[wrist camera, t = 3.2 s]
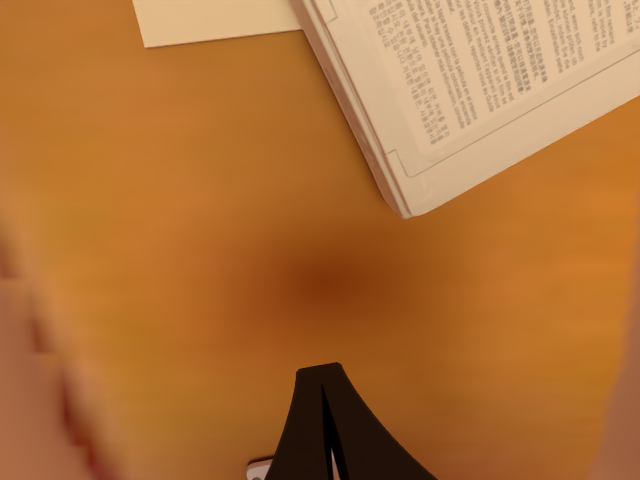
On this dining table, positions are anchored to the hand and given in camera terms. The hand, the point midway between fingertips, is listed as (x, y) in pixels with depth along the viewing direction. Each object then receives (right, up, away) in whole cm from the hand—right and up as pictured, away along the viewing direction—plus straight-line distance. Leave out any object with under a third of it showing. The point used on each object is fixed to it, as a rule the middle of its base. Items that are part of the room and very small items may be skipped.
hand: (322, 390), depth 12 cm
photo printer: (+1, +9, +2) cm, 10 cm away
